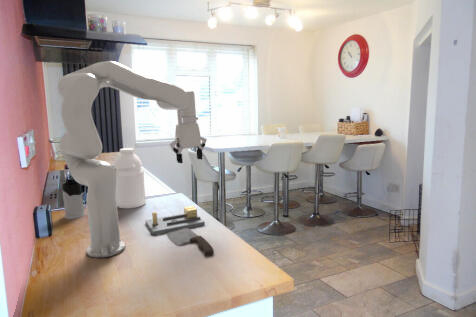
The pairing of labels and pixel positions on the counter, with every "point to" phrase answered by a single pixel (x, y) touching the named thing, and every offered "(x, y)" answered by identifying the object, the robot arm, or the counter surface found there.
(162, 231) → the bolt plate
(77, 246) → the counter surface
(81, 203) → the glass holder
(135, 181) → the bottle
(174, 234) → the cleaver
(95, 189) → the robot arm
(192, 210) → the cardboard box
